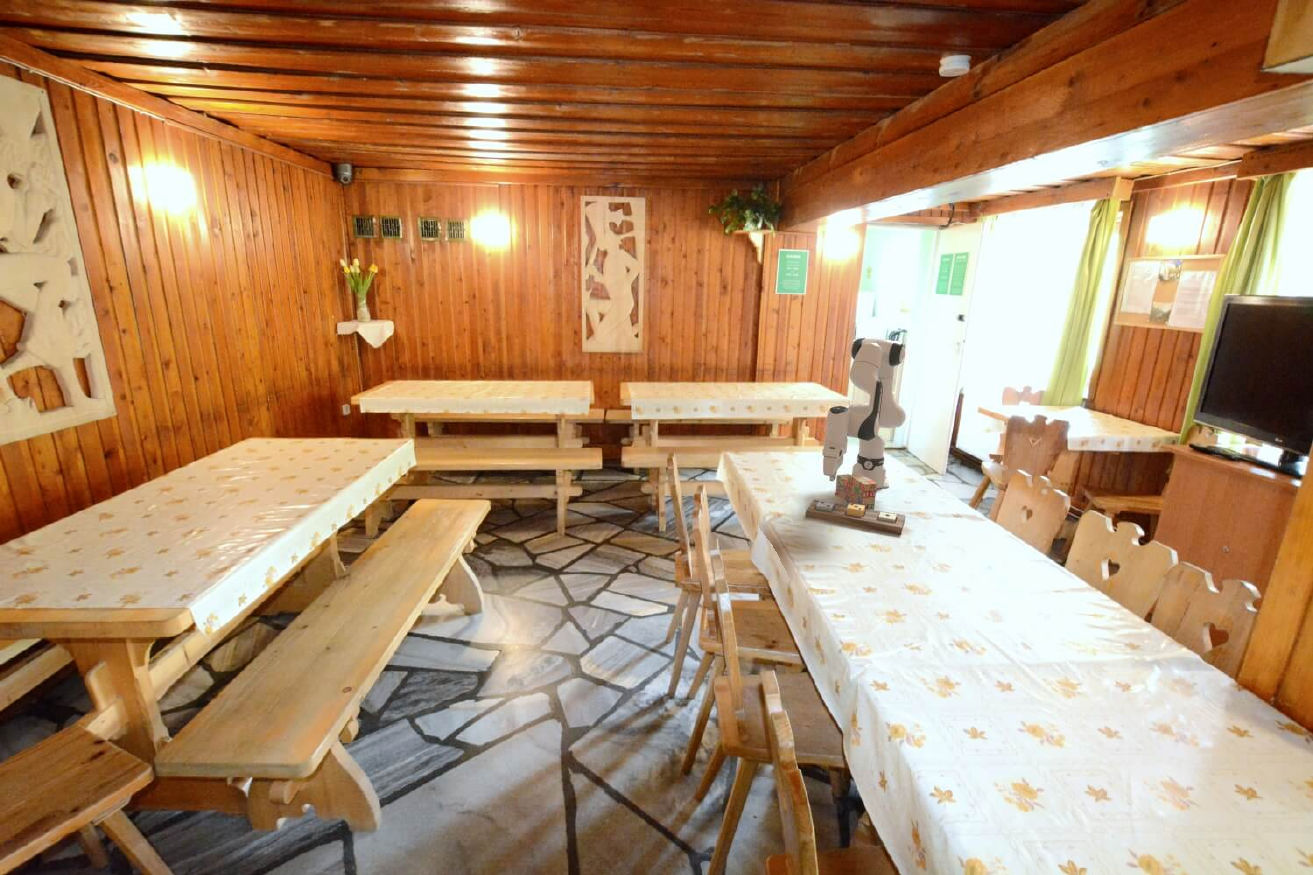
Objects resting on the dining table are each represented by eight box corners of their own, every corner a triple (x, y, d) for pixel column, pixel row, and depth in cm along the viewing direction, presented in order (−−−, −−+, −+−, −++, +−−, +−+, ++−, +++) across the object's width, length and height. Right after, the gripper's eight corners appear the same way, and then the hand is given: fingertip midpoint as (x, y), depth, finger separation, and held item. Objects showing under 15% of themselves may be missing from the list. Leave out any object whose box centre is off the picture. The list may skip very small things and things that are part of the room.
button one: (879, 520, 232) (880, 511, 231) (895, 523, 229) (896, 513, 228) (877, 526, 226) (878, 516, 225) (893, 529, 224) (895, 519, 223)
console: (813, 506, 247) (814, 499, 246) (904, 522, 231) (905, 515, 230) (805, 517, 235) (806, 510, 234) (901, 534, 219) (901, 527, 218)
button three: (848, 512, 237) (849, 502, 236) (864, 515, 234) (865, 505, 233) (846, 517, 231) (847, 507, 230) (861, 520, 229) (862, 510, 228)
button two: (818, 509, 242) (819, 500, 241) (833, 512, 240) (834, 503, 239) (815, 514, 237) (816, 505, 236) (830, 517, 234) (831, 507, 233)
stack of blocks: (834, 494, 262) (837, 468, 259) (847, 493, 264) (849, 467, 261) (860, 511, 242) (863, 483, 239) (874, 510, 243) (877, 482, 240)
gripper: (832, 440, 241) (830, 472, 244) (821, 452, 223) (818, 486, 227) (848, 442, 238) (845, 474, 241) (838, 454, 221) (834, 489, 224)
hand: (832, 480), depth 234 cm, fingers closed
